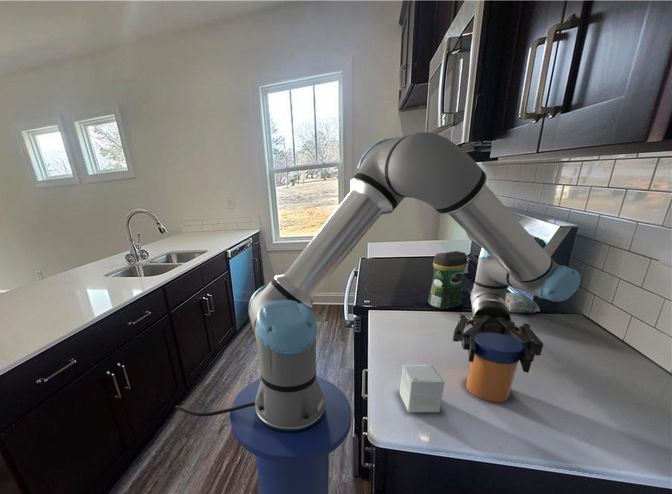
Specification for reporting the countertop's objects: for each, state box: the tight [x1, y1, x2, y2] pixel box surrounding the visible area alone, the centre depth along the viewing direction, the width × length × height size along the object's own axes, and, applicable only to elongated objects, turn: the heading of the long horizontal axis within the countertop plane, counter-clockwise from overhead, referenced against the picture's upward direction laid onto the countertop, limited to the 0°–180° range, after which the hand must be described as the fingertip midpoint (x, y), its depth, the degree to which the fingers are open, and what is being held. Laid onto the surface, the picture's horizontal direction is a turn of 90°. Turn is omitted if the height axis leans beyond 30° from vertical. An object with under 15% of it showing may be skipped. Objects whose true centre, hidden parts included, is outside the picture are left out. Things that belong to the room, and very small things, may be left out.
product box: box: [399, 363, 445, 413], centre depth 63 cm, size 6×6×7 cm
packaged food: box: [505, 292, 541, 314], centre depth 102 cm, size 9×12×5 cm
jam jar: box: [466, 353, 519, 403], centre depth 65 cm, size 8×8×11 cm
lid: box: [475, 333, 523, 363], centre depth 63 cm, size 8×8×2 cm
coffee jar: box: [427, 250, 468, 310], centre depth 105 cm, size 10×8×19 cm
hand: (498, 360), depth 60 cm, fingers closed on lid, 8 cm apart
